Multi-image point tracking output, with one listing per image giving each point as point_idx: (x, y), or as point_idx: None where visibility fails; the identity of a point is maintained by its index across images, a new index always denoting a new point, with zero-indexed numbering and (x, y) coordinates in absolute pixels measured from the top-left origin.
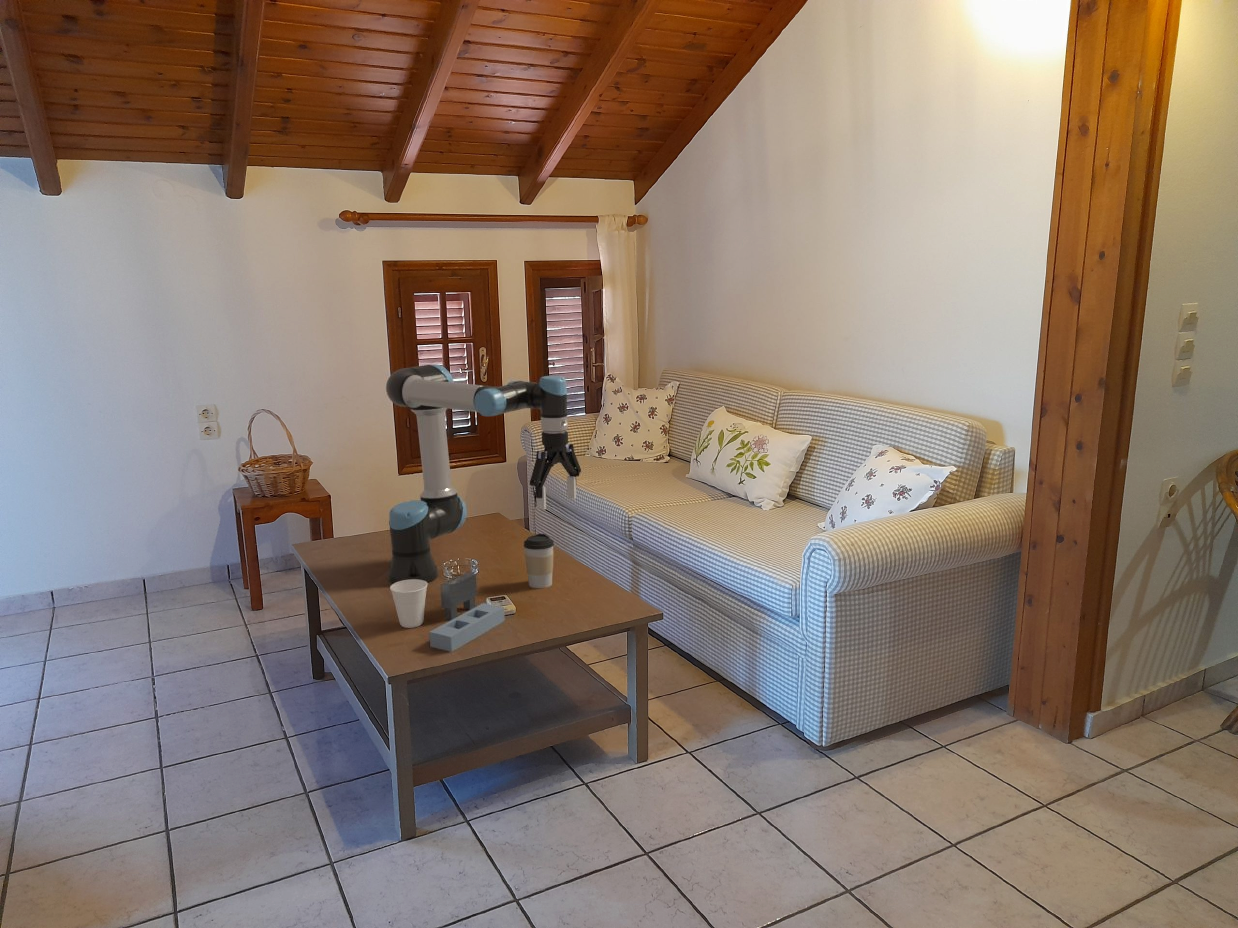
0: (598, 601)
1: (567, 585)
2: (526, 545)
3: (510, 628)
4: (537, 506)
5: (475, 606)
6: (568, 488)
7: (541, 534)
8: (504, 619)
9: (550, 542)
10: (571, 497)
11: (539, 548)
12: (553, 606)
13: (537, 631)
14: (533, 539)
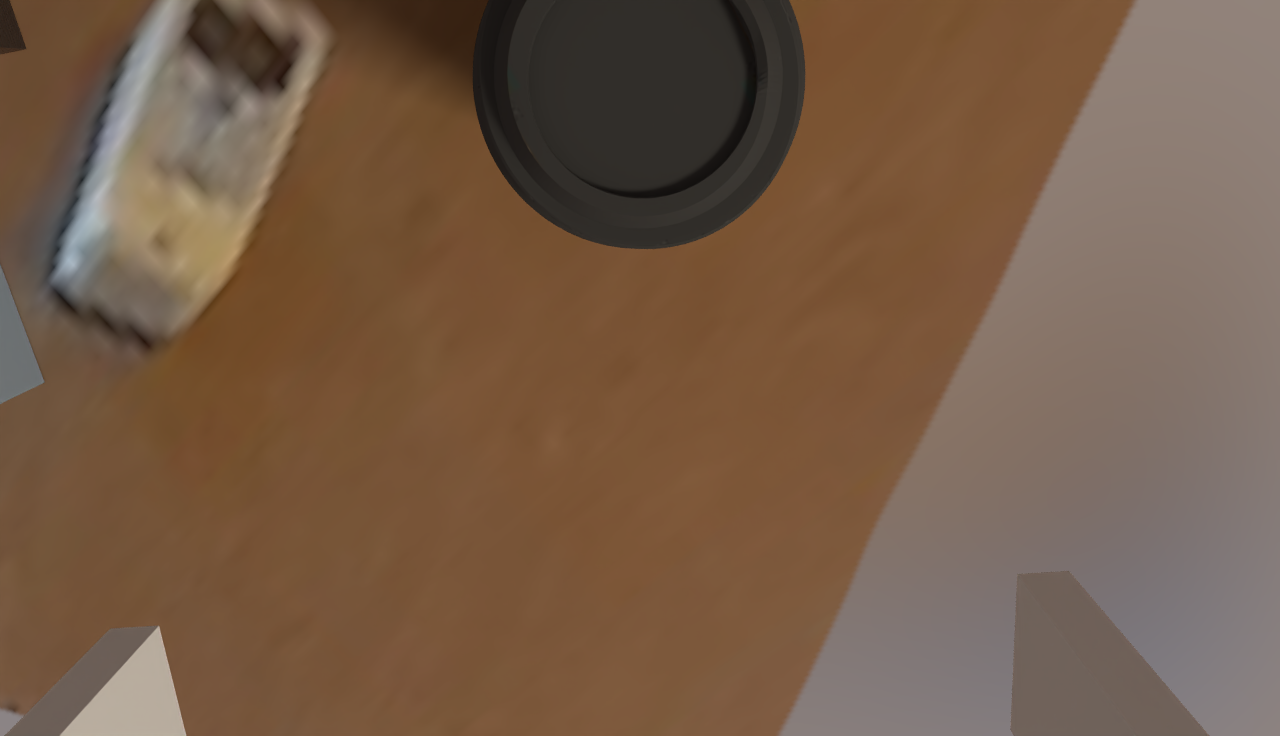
0: (644, 606)
1: (743, 265)
2: (480, 44)
3: (9, 486)
4: (95, 656)
5: (19, 48)
6: (1103, 730)
7: (746, 22)
8: (37, 384)
9: (690, 219)
10: (1020, 675)
11: (532, 205)
12: (407, 451)
13: (100, 626)
14: (591, 41)
